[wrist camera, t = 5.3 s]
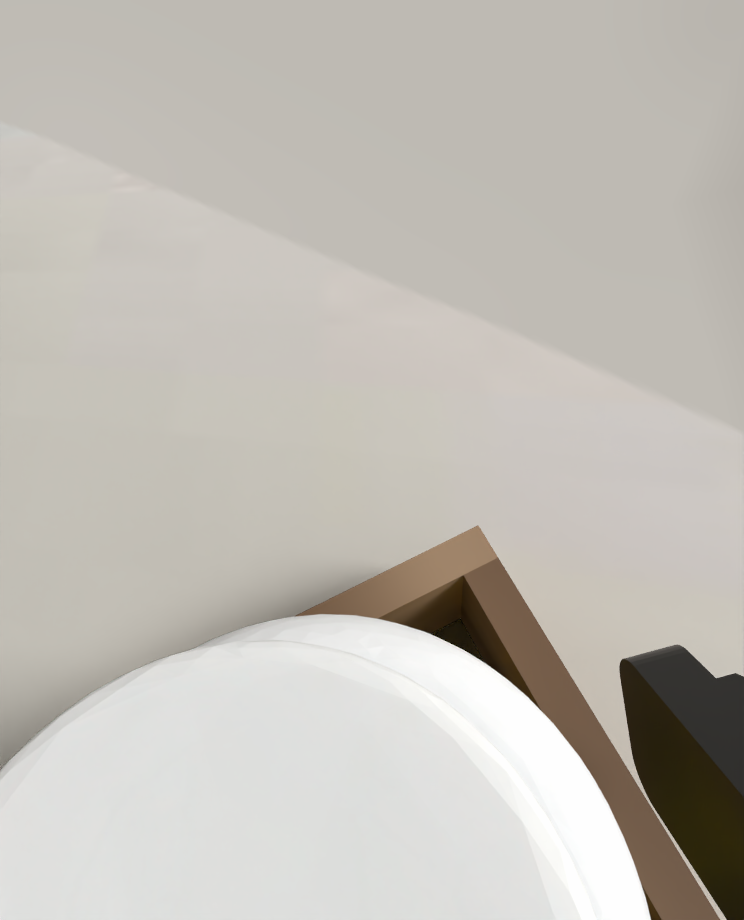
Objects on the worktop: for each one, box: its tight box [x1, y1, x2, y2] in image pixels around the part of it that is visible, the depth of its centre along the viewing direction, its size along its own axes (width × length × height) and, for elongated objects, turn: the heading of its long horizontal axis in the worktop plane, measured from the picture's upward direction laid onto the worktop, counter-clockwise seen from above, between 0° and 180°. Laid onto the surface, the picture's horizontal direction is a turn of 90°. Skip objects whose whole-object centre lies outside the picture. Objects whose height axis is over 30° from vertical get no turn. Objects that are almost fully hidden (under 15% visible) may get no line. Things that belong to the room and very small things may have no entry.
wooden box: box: [294, 526, 720, 920], centre depth 11 cm, size 8×8×3 cm
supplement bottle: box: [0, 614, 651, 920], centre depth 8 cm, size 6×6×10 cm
